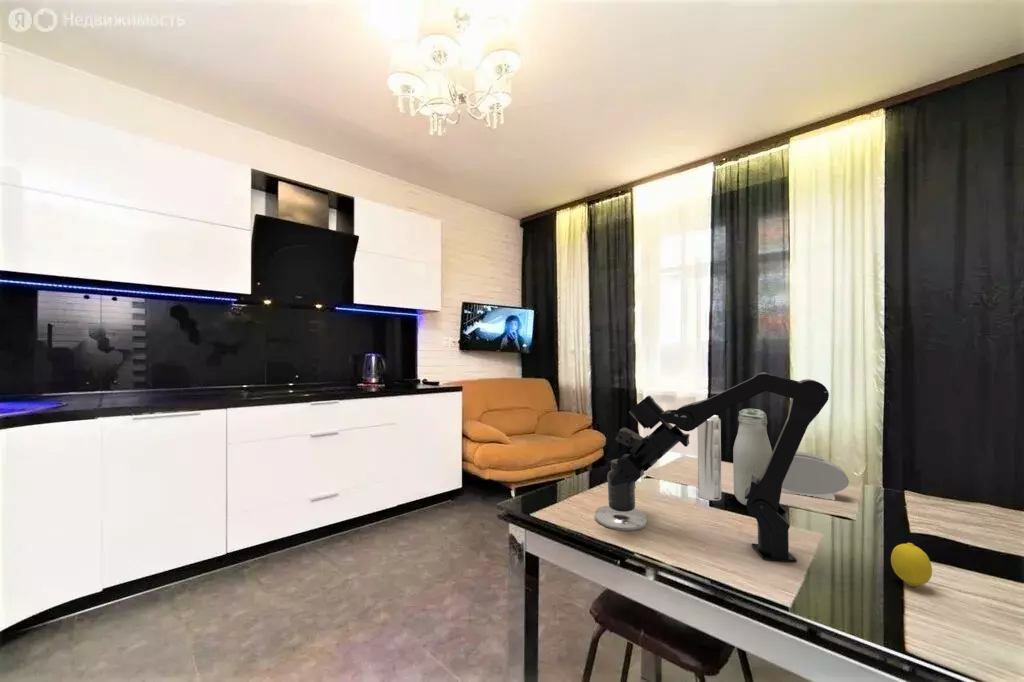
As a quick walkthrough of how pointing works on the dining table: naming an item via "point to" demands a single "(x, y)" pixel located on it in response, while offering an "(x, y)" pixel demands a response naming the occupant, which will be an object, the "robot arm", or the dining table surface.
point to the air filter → (709, 459)
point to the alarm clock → (814, 477)
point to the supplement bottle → (620, 492)
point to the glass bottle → (750, 450)
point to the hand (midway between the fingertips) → (615, 480)
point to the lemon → (911, 564)
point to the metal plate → (620, 519)
